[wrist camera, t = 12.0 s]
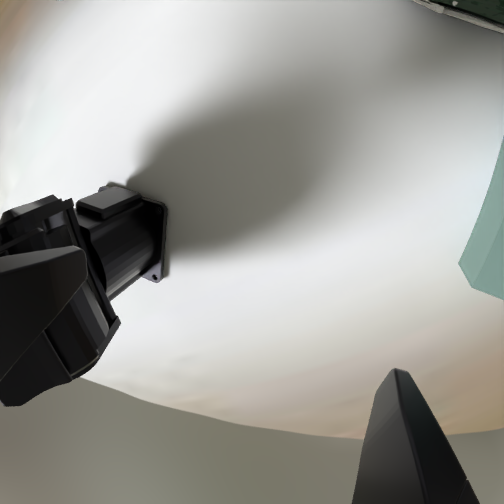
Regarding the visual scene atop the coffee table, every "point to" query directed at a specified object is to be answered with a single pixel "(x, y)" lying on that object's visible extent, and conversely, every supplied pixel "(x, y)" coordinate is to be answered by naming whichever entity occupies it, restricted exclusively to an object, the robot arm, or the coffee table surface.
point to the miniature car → (471, 10)
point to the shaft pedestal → (488, 239)
